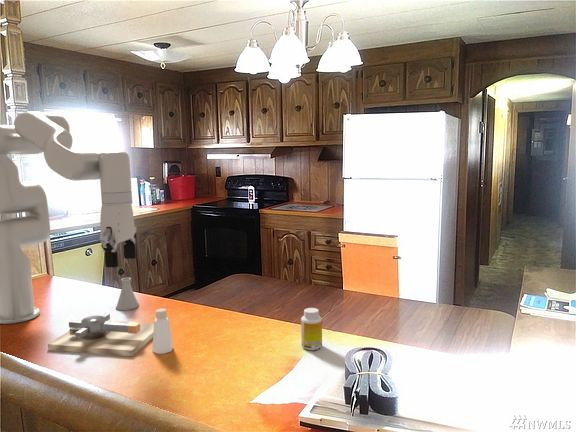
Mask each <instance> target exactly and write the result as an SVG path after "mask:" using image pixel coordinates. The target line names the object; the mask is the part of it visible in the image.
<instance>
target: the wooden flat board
mask: <svg viewBox="0 0 576 432" xmlns="http://www.w3.org/2000/svg"><path fill="white" fill-rule="evenodd" d="M107 322H122V323H140V331H139V332H138V333H137V334H131V333H126V332H112V331H106V334H105V335H104V336H102V337H100V338H96V339H84V338H83V337H82V338H81V339H78V338H76V336H75V332H77V331H78V330H80V329H82V328H69V331H67V332H65V333H63V334H62V335H60V336H59V337H57V338H55V339H53V340H52V341H50V342H49V343H47V350H48V351H55V352H56V351H59V352H69V353H70V352H71V353H72V352H73V353H85V354H96V355H97V354H98V355H110V356H122V357H123V356H124V357H133V356H135V355H136V354H137V353H138V352H139V351H140V350H141V349H143V348H144V347H145V346H146V345H147V344H148V343H149V342H151V341H152V340H153V332H154V322H153V323H151V322H150V323H149V322H138V321H137V322H135V321H122V320H121V321H120V320H119V321H118V320H108V321H107Z"/></svg>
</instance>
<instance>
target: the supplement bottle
mask: <svg viewBox="0 0 576 432" xmlns="http://www.w3.org/2000/svg"><path fill="white" fill-rule="evenodd" d="M319 311H320V310H319V309H318V308H316V307H308V308H305V309H304V310H303V316H301V318H300V327H301V329H300V330H301V335H300V336H301V347H302V349H304V350H307V351H317V350H320V349H321V348H322V347H323V317H321V315H320V312H319ZM319 348H320V349H319ZM316 349H317V350H316Z"/></svg>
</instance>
